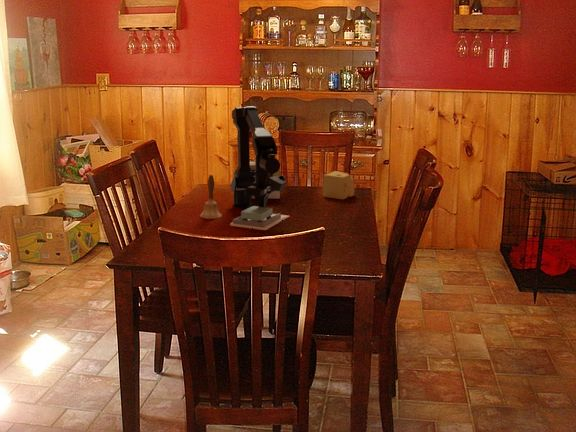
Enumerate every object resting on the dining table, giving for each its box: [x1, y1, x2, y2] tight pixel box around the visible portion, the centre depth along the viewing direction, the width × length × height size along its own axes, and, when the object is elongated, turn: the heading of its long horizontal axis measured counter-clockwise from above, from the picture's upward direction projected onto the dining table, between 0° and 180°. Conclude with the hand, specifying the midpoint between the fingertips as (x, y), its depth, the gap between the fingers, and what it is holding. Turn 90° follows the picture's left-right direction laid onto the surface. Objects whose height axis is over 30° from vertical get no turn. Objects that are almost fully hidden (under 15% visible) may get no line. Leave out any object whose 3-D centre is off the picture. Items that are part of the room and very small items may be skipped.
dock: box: [229, 212, 290, 231], centre depth 259 cm, size 14×22×2 cm, turn 157°
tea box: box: [250, 161, 281, 200], centre depth 298 cm, size 15×10×15 cm, turn 92°
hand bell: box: [199, 174, 223, 220], centre depth 263 cm, size 8×8×16 cm
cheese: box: [322, 170, 355, 200], centre depth 302 cm, size 10×11×10 cm
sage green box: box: [240, 205, 274, 222], centre depth 254 cm, size 8×10×4 cm
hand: (262, 210), depth 260 cm, fingers closed
